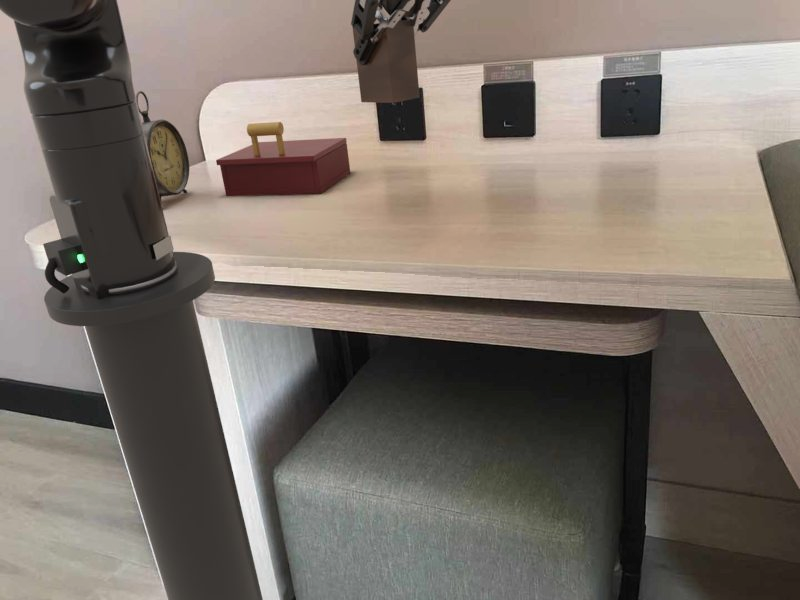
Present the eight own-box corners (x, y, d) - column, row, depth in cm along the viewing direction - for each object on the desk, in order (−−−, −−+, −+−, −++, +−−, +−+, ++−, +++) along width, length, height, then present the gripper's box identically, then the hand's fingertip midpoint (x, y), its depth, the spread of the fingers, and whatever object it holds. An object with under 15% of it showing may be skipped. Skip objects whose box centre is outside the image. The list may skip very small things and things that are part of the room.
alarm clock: (164, 211, 98) (136, 94, 91) (130, 212, 99) (100, 97, 92) (198, 191, 108) (175, 85, 101) (167, 193, 109) (142, 88, 102)
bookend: (393, 102, 82) (385, 22, 78) (361, 102, 86) (352, 25, 82) (419, 97, 84) (413, 19, 81) (387, 96, 89) (379, 22, 85)
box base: (321, 193, 98) (316, 160, 96) (226, 196, 103) (219, 164, 101) (350, 173, 109) (346, 143, 107) (263, 176, 114) (258, 147, 112)
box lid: (314, 161, 96) (308, 122, 94) (216, 165, 100) (209, 128, 98) (346, 142, 107) (342, 107, 105) (258, 147, 112) (252, 113, 110)
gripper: (462, -90, 77) (399, 30, 90) (367, -92, 68) (313, 42, 81) (501, -44, 75) (431, 72, 88) (410, -41, 66) (347, 88, 79)
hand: (375, 57), depth 85 cm, fingers closed on bookend, 4 cm apart
